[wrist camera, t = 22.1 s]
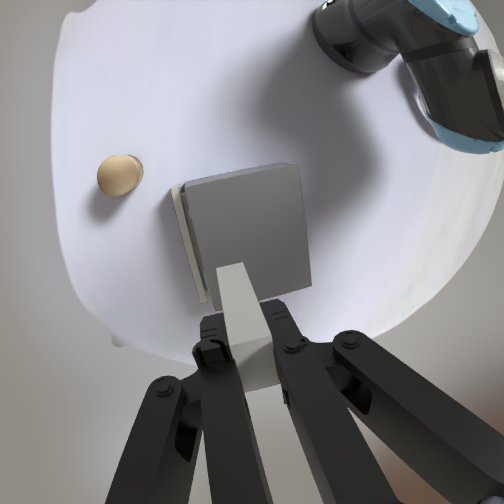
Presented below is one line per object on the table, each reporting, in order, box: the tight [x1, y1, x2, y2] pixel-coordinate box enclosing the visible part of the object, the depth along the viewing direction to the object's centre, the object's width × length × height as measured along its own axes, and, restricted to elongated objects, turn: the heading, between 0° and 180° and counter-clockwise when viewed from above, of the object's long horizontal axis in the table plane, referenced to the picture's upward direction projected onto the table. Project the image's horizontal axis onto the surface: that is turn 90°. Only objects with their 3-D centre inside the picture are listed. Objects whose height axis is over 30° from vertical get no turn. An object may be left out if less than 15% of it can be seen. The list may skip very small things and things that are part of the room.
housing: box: [184, 163, 312, 311], centre depth 38 cm, size 14×17×7 cm
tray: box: [171, 184, 208, 304], centre depth 39 cm, size 14×17×4 cm
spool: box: [97, 155, 143, 196], centre depth 32 cm, size 5×5×6 cm
